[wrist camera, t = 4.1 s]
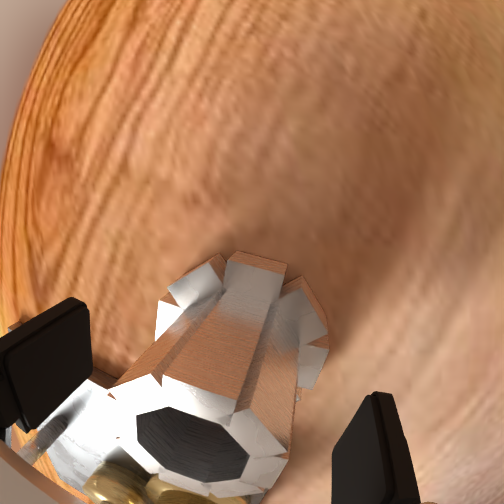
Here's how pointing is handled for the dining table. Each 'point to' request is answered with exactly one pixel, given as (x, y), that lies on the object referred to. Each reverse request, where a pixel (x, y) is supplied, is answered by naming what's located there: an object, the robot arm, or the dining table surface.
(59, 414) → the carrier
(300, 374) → the planet gear
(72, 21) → the dining table surface
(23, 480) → the robot arm
